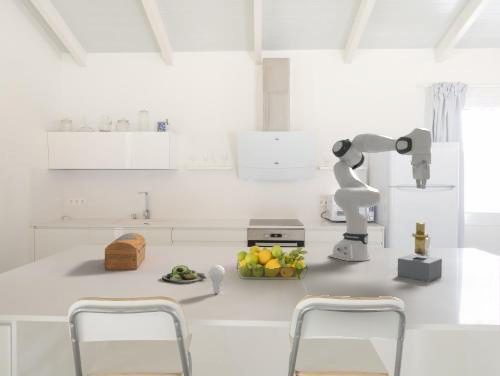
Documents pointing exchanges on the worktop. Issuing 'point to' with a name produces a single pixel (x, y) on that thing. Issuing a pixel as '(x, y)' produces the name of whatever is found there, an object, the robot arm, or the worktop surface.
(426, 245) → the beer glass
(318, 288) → the worktop surface
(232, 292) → the worktop surface
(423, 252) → the brass knob plunger
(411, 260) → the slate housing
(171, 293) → the worktop surface
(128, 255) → the wooden box
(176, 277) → the salad plate
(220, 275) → the lightbulb
